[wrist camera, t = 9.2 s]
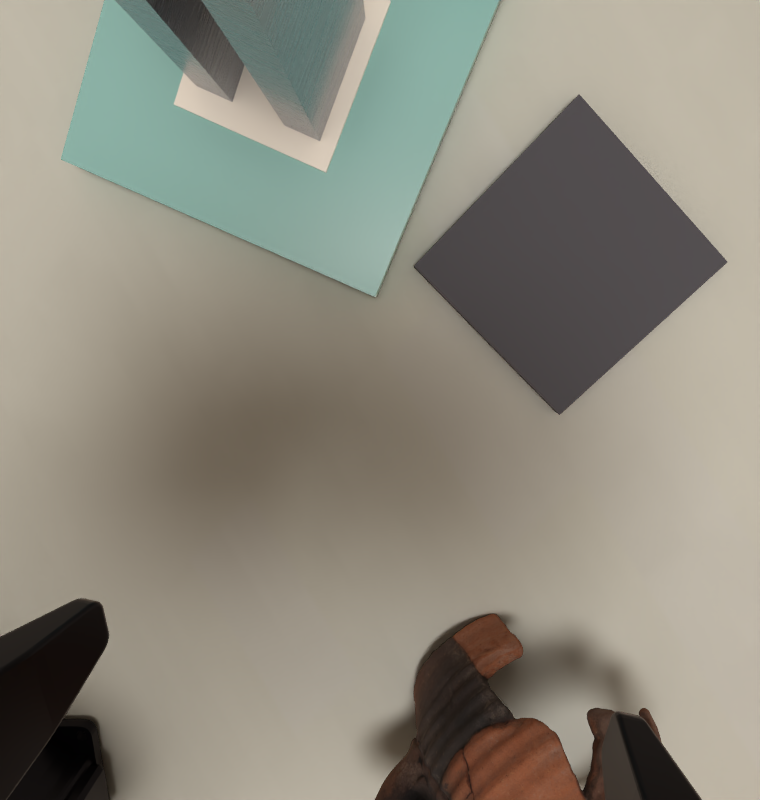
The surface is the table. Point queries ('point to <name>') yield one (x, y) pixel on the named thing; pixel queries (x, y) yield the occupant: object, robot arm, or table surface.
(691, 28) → the table surface
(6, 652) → the robot arm
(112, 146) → the teal base plate
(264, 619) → the table surface
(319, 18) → the grey tower block
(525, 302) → the mat
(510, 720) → the pottery mug
